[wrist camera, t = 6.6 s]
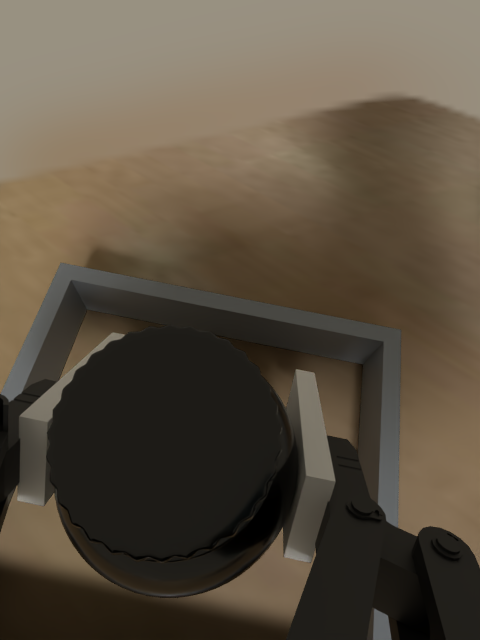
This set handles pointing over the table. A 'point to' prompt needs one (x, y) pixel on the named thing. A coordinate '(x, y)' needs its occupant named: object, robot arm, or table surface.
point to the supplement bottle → (171, 462)
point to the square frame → (243, 324)
